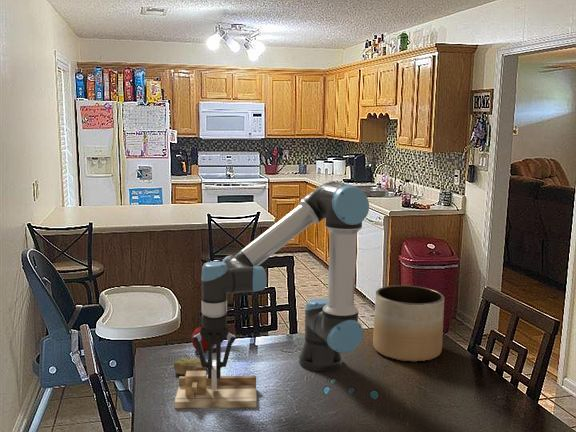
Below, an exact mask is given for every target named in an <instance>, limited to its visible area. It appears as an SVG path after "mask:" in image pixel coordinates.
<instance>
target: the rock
mask: <svg viewBox="0 0 576 432" xmlns="http://www.w3.org/2000/svg"><path fill="white" fill-rule="evenodd" d="M173 369H174V371H175V372H176V373H177V375H184V376H185V375H186V371H206V370H208V369H207V368H206V367H202V365H201V361H200V358H199V357H198V358H195V357H192V358H188V357H186V358H180V359H179V360H177V361H176V362H174V363H173Z"/></svg>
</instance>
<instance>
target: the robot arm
mask: <svg viewBox="0 0 576 432" xmlns="http://www.w3.org/2000/svg"><path fill="white" fill-rule="evenodd" d="M369 211H370V201H369V198H368V197H367V195H366V193H365V192H364V191H363V190H362V189H360V188H359V187H357V186H355V185H352V184H346V183H341V182H338V181H337V182H336V181H328V182H325V183H323V184H320V185H319V186H318V187H316V188H314V189H313V190H312V191H311V192H309V193H308V194H306V195H305V196H304V197H302V199H300V200H299V204H298V205H297V206H296V207H294V209H292V210H291V211H290V212H288V213H287V214H285V216H283V217H282V218H281V219H280V220H278V221H277V222H276V223H275V224H273V225H272V226H270V227H269V228H268V229H266V231H264V232H263V233H261V234H260V235H259V236H258V237H256V238H255V239H254V240H252V241H251V242H249V244H247V245H246V246H245V247H244V248H242V249H241V250H239V251H238V252H236V254H234V255H227V256H225V257H224V258H223V259H222V261H214V260H213V261H207V262H204V263H203V265H202V268H201V277H200V278H201V279H200V280H201V324H202V328H201V330H200V333H198V334H197V335H196V334H195V335H194V336H193V341H194V342H195V344H196V346H197V349H198V350H197V353H198V356H199V357H198V358H199V359H200V361H201V365H202V367H206V368H207V369H206V370H207V376H208V379H212V380H211V390H216V389H217V378H220V376H222V373H221V372H222V371H221V369H222V368H225V367H226V366H227V365H228V360H229V357H230V353H231V349H232V346H233V343H234V342H235V341H236V335H235V334H234V333H233V334H232V333H230V332H229V329H228V314H227V312H228V294H240V293H256V292H259V291H264V290H265V288H266V287H267V280H268V279H267V273H266V270H265V268H264V267H263V266H260V265H262V264H263V263H264V262H265V261H266V260H268V259H269V258H270V257H271V256H273V255H275V253H276V252H278V251H279V250H280V249H282V248H283V247H284V246H285V245H287V244H288V243H289V242H290V241H292V240H293V239H294V238H296V237H297V236H298V235H300V234H301V233H303V232H304V231H305V230H306V229H307V228H308V227H310V226H311V225H313V224H319V223H320V222H321V221H322V220H324V219H325V222H324V223H325V228H326V229H327V230H328V231H329V245H328V246H329V251H328V275H327V276H328V278H327V298H323V297H321V298H313V299H309V300H308V301H306V303H305V308H304V342H303V344H302V348H301V350H300V352H299V356H298V358H299V359H298V362H299V365H300V366H301V367H302V368H304V369H306V370H310V371H313V372H314V371H315V372H332V371H335V370H338V369H340V368H341V367H342V364H343V356H342V354H347V353H351V352H353V351H355V349H356V348H358V346H360V344H361V343H362V341H363V337H364V328H363V326H362V325H361V323H360V322H359V308H357V306H356V305H355V285H356V258H357V255H356V254H357V236H358V235H357V234H358V232H359V231H360V230H361V229H362V228H363V221H364V220H365V218H367V216H368V214H369ZM201 336H202V337H203V339H204V340H205V341H206V343H208V351H207V359H206V355H205V352H204V351H203V347H202V343H201ZM225 339H227V343H226V348H225V352H224V354H223V359H222V357H221V355H222V354H221V352H222V351H221V349H222V346H221V345H222V343H223V342H224V340H225ZM212 344H215V346H216V349H215V350H216V353H215V355H216V356H215V357H216V358H215V361H216V364H215V365H213V348H212ZM221 359H222V360H221Z"/></svg>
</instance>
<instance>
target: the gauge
mask: <svg viewBox="0 0 576 432" xmlns="http://www.w3.org/2000/svg"><path fill="white" fill-rule="evenodd" d="M184 376H185V395H194V397H196V395H206V376H207V370H204V371H186V375H185V374H184Z"/></svg>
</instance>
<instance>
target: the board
mask: <svg viewBox="0 0 576 432" xmlns="http://www.w3.org/2000/svg"><path fill="white" fill-rule="evenodd" d="M211 380H212V379H208V375H206V395H196V397H194V395H185V375H181V376H179V377H178V388H177V391H176V396H175V399H174V409H215V408H216V409H219V408H222V409H223V408H225V409H226V408H227V409H228V408H229V409H231V408H237V409H238V408H257V375H221V376H220V378H217V389H216V390H211Z"/></svg>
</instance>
